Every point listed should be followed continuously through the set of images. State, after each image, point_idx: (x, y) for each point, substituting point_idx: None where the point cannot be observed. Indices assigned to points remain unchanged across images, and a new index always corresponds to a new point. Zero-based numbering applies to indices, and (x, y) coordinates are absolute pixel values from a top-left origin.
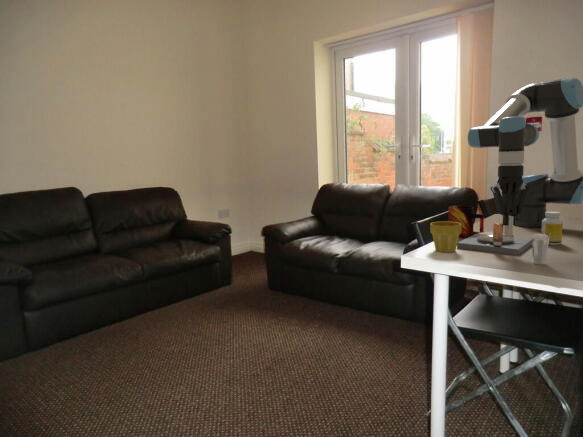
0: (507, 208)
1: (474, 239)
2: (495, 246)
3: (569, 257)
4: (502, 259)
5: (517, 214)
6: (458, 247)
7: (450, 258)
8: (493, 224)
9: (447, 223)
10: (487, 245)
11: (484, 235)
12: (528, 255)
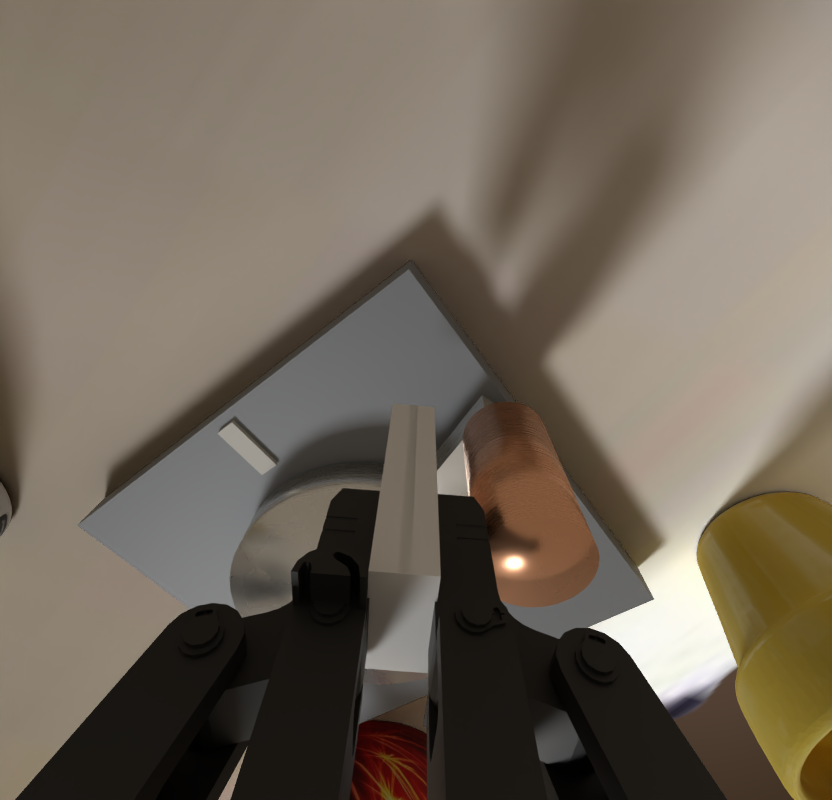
0: (512, 765)
1: None
2: None
3: (22, 24)
4: (642, 173)
5: (297, 572)
6: (635, 567)
7: None
8: (583, 576)
9: (809, 786)
10: None
11: None
12: (332, 229)
